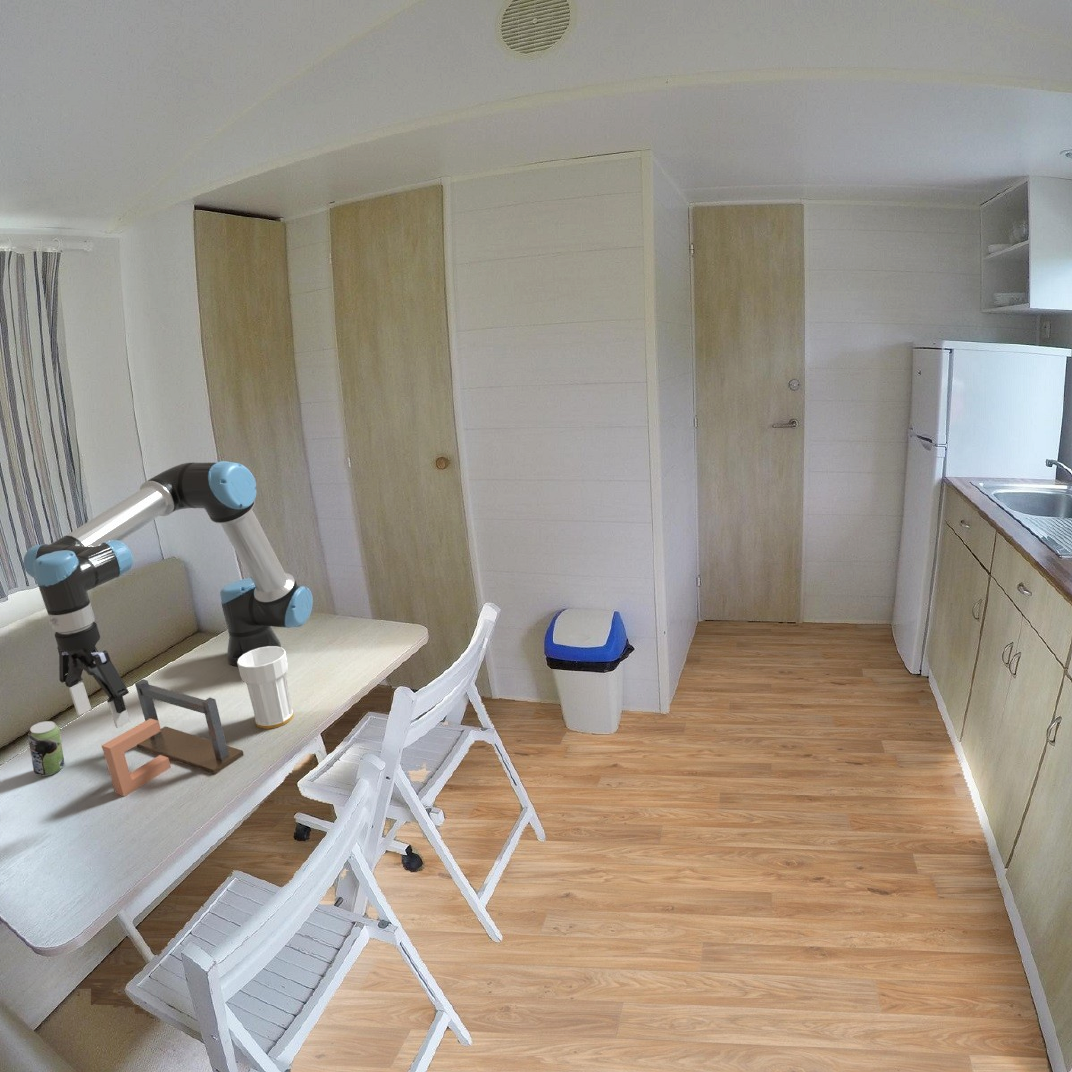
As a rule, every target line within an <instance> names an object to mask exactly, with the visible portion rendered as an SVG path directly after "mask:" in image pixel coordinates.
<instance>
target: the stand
mask: <svg viewBox="0 0 1072 1072" xmlns="http://www.w3.org/2000/svg"><path fill="white" fill-rule="evenodd" d="M134 684H135V688H136V692H137V696H138V699H139V703H140V707H141V710H142V713H143V717H144V722H145V721H147V720H148V719H154V720H157V721H159V718H158V714H157V709H156V705H155V704H154V700H155V701H159V702H163V703H167V704H169V705H173V706H177V707H180V708H184V709H188V710H191V711H194V712H197V713H201V714H204V716H205V721H206V724H207V728H208V732H209V736H210V737H209V738H210V739H207V738H205V737H201V736H197V735H194V734H192V733H188V732H185V731H181V730H179V729H175V728H173V727H170V726H169V727H168V726H166V725H165V726H163V727H162V728H161V731H160V732H158V733H157V734H155V735H153V736H151V737H150V738H148V739H146V740H144V741H143V742H141V743H139V744H138V745H136V748H137V749H140V750H143V751H146V752H148V753H152V754H154V755H158V756H159V755H162V756H165V757H168V758H169V760H172V761H175V762H178V763H181V764H183V765H186V766H190V767H193V768H194V769H195V768H196V769H198V770H200V771H204V772H206V773H209V774H212V775H217V774H218V773H220V772H221V771H222V770H224V769H226V768H227V767H228V766H229V765H231V764H233V763H234V762H235V761H237V760H239V759H241V758H242V757H243V756H244V751H243V750H242V749H238V748H236V747H232V746H230V745H229V746H228V745H227V742H226V738H225V734H224V730H223V726H222V721H221V718H220V714H219V713H220V712H219V709H218V705H217V701H216V698H212V697H207V698H206V699H204V698H199V697H195V696H191V695H188V694H184V693H181V692H177V691H173V690H170V689H166V688H164V687H159V686H156V685H152V684H149V681H148V680H146V679H143V678H142V679H140V680H139V681H136V682H135V683H134ZM159 725H160V726H161V724H160V723H159Z"/></svg>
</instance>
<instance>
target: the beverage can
mask: <svg viewBox="0 0 1072 1072" xmlns="http://www.w3.org/2000/svg"><path fill="white" fill-rule="evenodd" d="M60 730H61V729H60V727H59V726H58V725H57V724H56V722H54V721H51V720H45V721H40V722H36V723H35V724H33V725H32V726H31V727H30V729H29V731H28V733H27V738H28V743H29V744H28V745H29V750H30V756H31V762H32V768H33V772H34V773H35V774H36V775H38V776H43V777H45V776H51V775H54V774H56V773H58V772H60V770H62V769H63V768H64V767H65V758H64V752H63V746H62V745H63V744H62V737H61V731H60Z"/></svg>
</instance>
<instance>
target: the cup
mask: <svg viewBox="0 0 1072 1072" xmlns="http://www.w3.org/2000/svg"><path fill="white" fill-rule="evenodd" d="M237 664H238V666H237V668H238V671H239V675H240V676H239V677H240V679H241V680H242V682H243V683H245V684H246V686H247V691H248V694H249V698H250V702H251V706H252V710H253V714H254V717H255V719H254V720H255V721H254V722H255V725H256V727H257V728H260V729H265V730H266V729H267V730H271V729H276V728H280V727H282V726H285V725H286V724H287V723H289V722H290V721H291V720H292V719H293V718H294V710H293V708H292V703H291V698H290V692H289V685H288V679H287V673H288V669H289V664H288V659H287V652H286V649H284V648H283V647H282V646H281V647H277V646H267V647H261V648H257V649H254V650H251V651H249V652H247V653H245V654H243V655H242V656H241V657H240V658H239V659H238V661H237Z"/></svg>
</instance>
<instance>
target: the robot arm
mask: <svg viewBox="0 0 1072 1072" xmlns="http://www.w3.org/2000/svg"><path fill="white" fill-rule="evenodd" d="M256 488H257V481H256V478H255V476H254V475H253V474H252V472H251V471H250V469H249V468H248V467H246V466H245V465H244V464H242V463H238V462H233V461H232V462H231V461H227V460H225V461H218V462H217V461H216V462H185V463H180V464H178V465H175V466H173V467H170V468H168V469H166V470H164V471H162V472H161V473H158V474H156V475H155V476H153V477H151V478H150V479H148V480H146V481H145V482H143V483H142V484H141V485H140V487H139V490H138V491H136V492H135V493H133V494H131V495H130V496H128V497H126V498H125V499H123V500H122V501H120V502H119V503H117V504H115V505H113V506H112V507H110V508H109V509H107V510H105V511H103V512H102V513H100V514H99V515H97V516H95V517H94V518H92V519H90V520H89V521H87V522H85V523H83V524H82V525H80V526H79V527H77V528H75V529H74V530H72V531H70V532H69V533H67V534H66V535H64V536H63V537H61V538H59V539H56V540H55V541H54V542H52V543H49V544H48V543H43V544H37V545H34V546H31V547H30V548H29V549H28V550H27V551H26V552H25V553H24V554H25V555H24V556H23V568H24V570H25V572H26V573H27V574H28V576H30V577H31V578H34V579H35V582H36V584H37V587H38V589H39V593H40V595H41V598H42V601H43V604H44V607H45V610H46V612H47V615H48V619H49V620H48V624H49V625H51V627H52V631H53V632H55V633H54V638H55V641H56V644H57V652H58V655H59V656H58V659H59V660H58V664H59V667H58V668H59V669H58V670H59V671H58V673H59V674H58V676H59V677H58V679H59V681H60V682H61V683H62V684H63V683H65V686H66V687H67V688H68V690H69V694H70V696H71V700H72V703H73V705H74V709H75V712H76V714H77V716H82V715H83V714H85V713H87V712H88V711H91V710H92V707H91V704H90V703H91V702H90V700H89V697H88V693H87V691H86V687H85V683H84V682H82V681H83V680H84V679H83V677H82V674H83V671H85V672H86V674H88V676H92V677H93V678H94V680H95V681H96V682H97V684H98V685H99V686H100V688H101V689H102V690H103V691H104V693H105V694H106V696H107V697H108V698H107V701H106V702H107V703H108V705H109V709H110V712H111V716H112V720H113V722H114V726H115V728H116V729H120V728H122V727H124V726H126V725H127V724H128V723H130V722H131V720H130V716H129V713H128V710H127V707H126V703H125V699H124V696H126V695H128V694H129V693H130V692H129V690H128V688H127V686H126V684H125V683H124V680H123V679H122V677H121V676H120V674H119V672H118V670H117V669H116V667H115V666H114V664H113V662H112V661H111V658H110V655H109V653H108V651H107V650H103V651H101V652H100V651H98V649H97V645H96V644H97V643H98V642H99V641H100V639H101V635H100V631H99V628H98V624H97V622H95V620H96V617H95V614H94V610H93V608H92V604H91V600H90V598H89V593H88V592H89V591H91V590H93V589H94V588H97V587H99V586H101V585H103V584H105V583H107V582H109V581H112V580H114V579H117V578H119V577H120V576H121V575H123V574H125V573H126V572H129V570H131V569H132V567H133V564H134V557H133V555H132V551H131V549H130V548H129V547H128V545H127V544H125V543H123V542H122V541H123V540H125V539H126V538H128V537H129V536H131V535H133V534H134V533H136V532H137V531H138V530H141V529H142V528H143V527H144V526H146V525H148V524H149V523H151V522H152V521H154V520H156V519H157V518H158V517H166V516H169V515H171V514H173V513H174V512H176V511H179V510H180V511H181V510H185V509H204V510H205V512H206V513H207V515H208V517H209V519H210V520H211V521H212V522H213V523H215V524H220V525H221V527H222V529H223V531H224V533H225V535H226V536H227V538H228V539H229V541H230V543H231V545H232V547H233V549H234V551H235V553H236V555H237V556H238V558H239V560H240V562H241V563H242V565H243V567H244V569H245V571H246V572H247V574H248V576H249V577H247V578H246V577H245V578H242V579H240V580H239V579H238V580H236V581H233V582H231V583H229V584H227V585H226V586H224V587H223V588H221V590H220V593H219V596H220V603H221V607H222V611H223V615H224V619H225V625H226V627H227V628H226V629H227V632H228V644H227V651H226V657H227V661H228V664H229V665H231V666H234V667H238V664H237V661H238V659H239V658H240V657H241V656H242V655H243V654H245V653H247V652H249V651H251V650H254V649H257V648H261V647H267V646H277V647H281V648H282V646H281V645H282V644H281V641H280V639H279V638H278V636H277V635H276V633H275V631H274V630H273V628H272V627H274V628H275V627H277V628H286V629H290V628H300V627H302V626H304V625H305V624H306V623H307V621H308V620H309V618H310V616H311V613H312V610H313V604H314V602H313V601H314V599H313V594H312V592H311V590H310V589H309V587H307V586H304V585H301V586H299V585H298V583H297V581H296V579H295V578H294V576H293V575H292V574H290V573H289V572H288V573H287V572H285V570H284V568H283V567H282V564H281V563H280V561H279V559H278V557H277V555H276V553H275V550H274V549H273V547H272V546H271V543H270V541H269V539H268V537H267V535H266V533H265V531H264V529H263V527H262V526H261V524H260V521H259V520H258V518H257V516H256V514H255V512H254V511H253V508H254V507H255V504H256V502H255V500H256V497H257V492H258V491H257V489H256Z"/></svg>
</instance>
